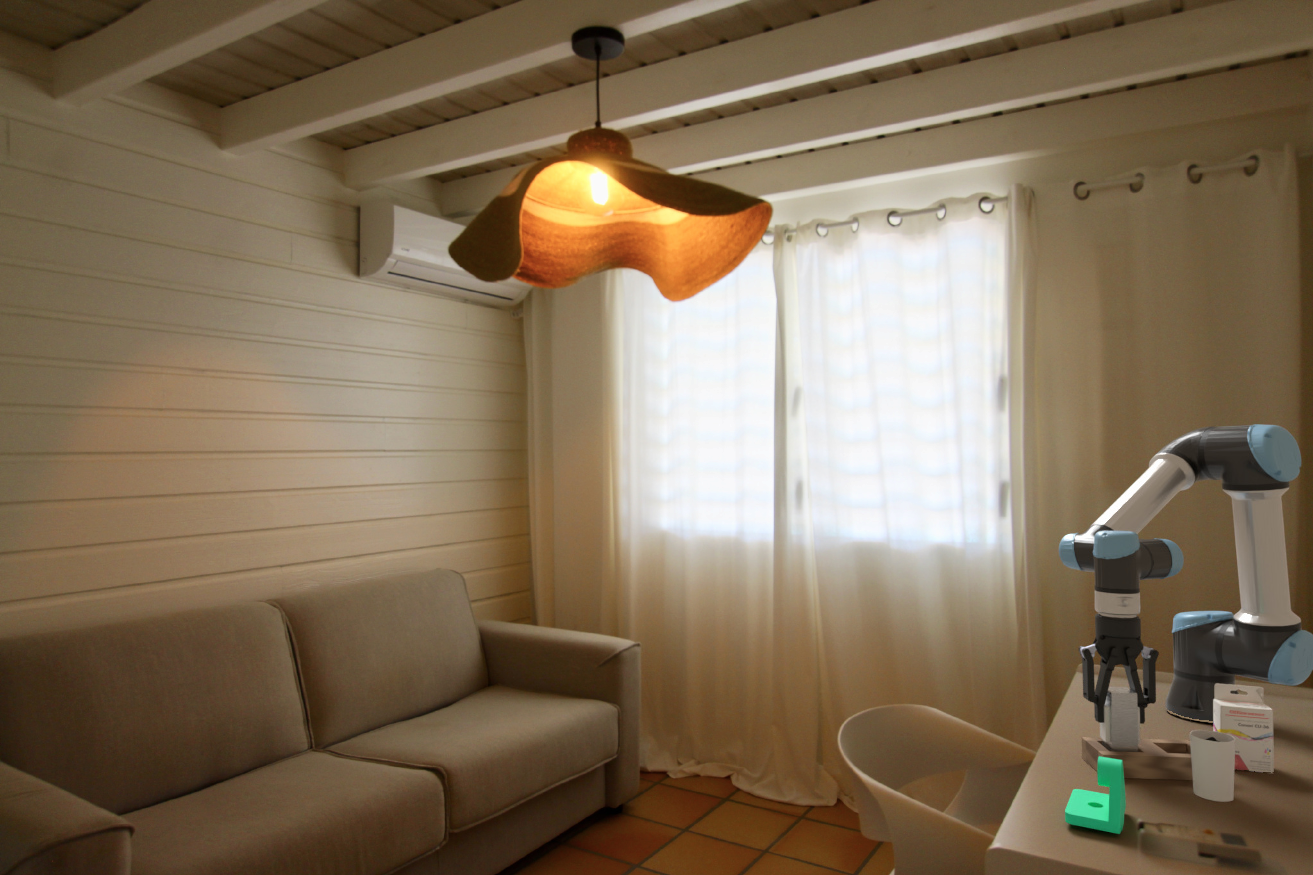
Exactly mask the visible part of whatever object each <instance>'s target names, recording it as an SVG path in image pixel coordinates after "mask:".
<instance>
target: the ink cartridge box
mask: <svg viewBox="0 0 1313 875" xmlns="http://www.w3.org/2000/svg"><path fill="white" fill-rule="evenodd" d="M1236 690H1238V691H1241V692H1245V693H1247V694H1240V693H1239V694H1231V693H1230V691H1236ZM1264 692H1265V688H1264V687H1262V686H1253V685H1243V684H1235V685H1232V684H1219V683H1216V684H1215V686H1214V699H1213V724H1212V725H1213V726H1212V729H1213V730H1212V731H1217V732H1221V733H1225V734H1228V735H1231V736H1233V737H1234V738H1235V767H1234V770H1236V769H1237V770H1238V771H1244V770H1249V771H1248V772H1254V771H1255V772H1256V773H1263V772H1271V773H1270V774H1273V773H1272V772H1274V770H1275V767H1274V766H1275V765H1274V764H1275V763H1274V762H1275V760H1274V758H1275V757H1274V755H1275V753H1274V750H1275V748H1274V746H1275V745H1274V711H1273V710H1274V709H1273V708H1271V707H1270V706H1269V705H1267V704H1266V703H1264V702H1265V701H1264V699H1265V698H1264V696H1265V693H1264ZM1237 770H1236V771H1237Z"/></svg>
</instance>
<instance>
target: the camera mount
mask: <svg viewBox="0 0 1313 875" xmlns="http://www.w3.org/2000/svg"><path fill="white" fill-rule="evenodd" d="M1096 772H1097V776H1096V777H1097V785H1098V786H1101V787H1107V788H1108V789H1109V790H1108V791H1109V792H1108V793H1102V792H1097V791H1091V790H1085V789H1082V788H1081V789H1080V788H1074V789H1072V792H1071V794H1070V797H1069V799H1068V800H1067V801H1068V802H1067V804H1066V807H1065V809H1064V821H1065V823H1067V824H1069V825H1072V826H1078V827H1083V828H1087V829H1092V830H1093V829H1094V830H1097V831H1103V832H1109V833H1113V834H1118V835H1121V832H1123V830H1124V829H1123V828H1124V824H1125V813H1126V808H1127V807H1126V806H1127V801H1126V799H1127V798H1126V797H1127V796H1126V785H1125V778H1124V771H1123V761H1122V760H1119V759H1113V758H1106V757H1100V756H1099V757H1098V765H1097V771H1096Z"/></svg>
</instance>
